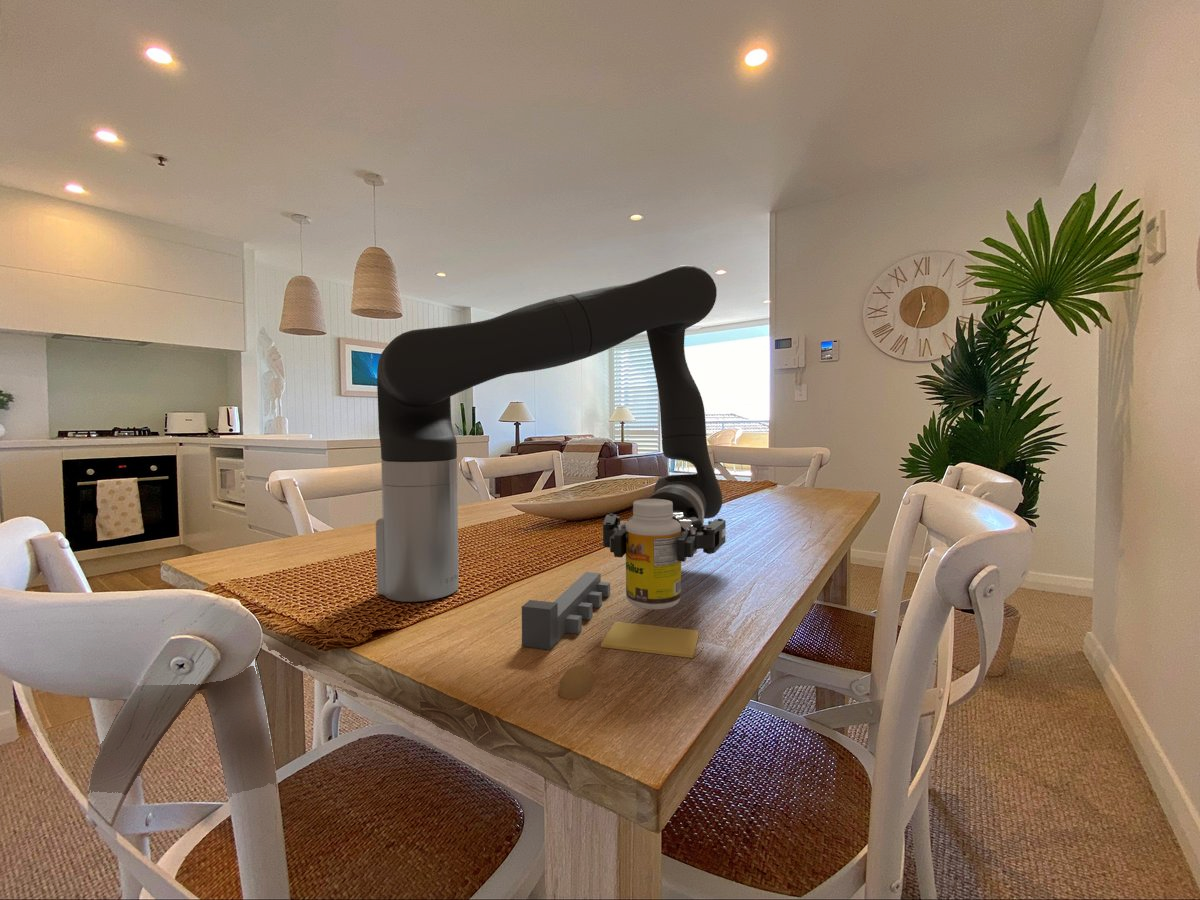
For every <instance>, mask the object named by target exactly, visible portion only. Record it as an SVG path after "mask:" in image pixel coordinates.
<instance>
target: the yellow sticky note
mask: <svg viewBox="0 0 1200 900" xmlns="http://www.w3.org/2000/svg"><path fill="white" fill-rule="evenodd" d="M699 635H700V630H697V629H696V630H695V629H687V628H679V627H678V628H677V627H669V626H658V625H653V624H652V625H651V624H643V623H641V624H640V623H633V622H632V623H630V622H622V621H614V623H613V625H612V626H611V628H610V629H609V631H608V632H607V634H606V636H605V637H604V638H603V640H602V641H601V643H600V648H608V649H615V650H622V651H631V652H632V651H633V652H639V653H648V654H657V655H664V656H673V657H674V656H675V657H679V658H688V659H694V657H695V651H696V648H697V643H698V639H699Z"/></svg>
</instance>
